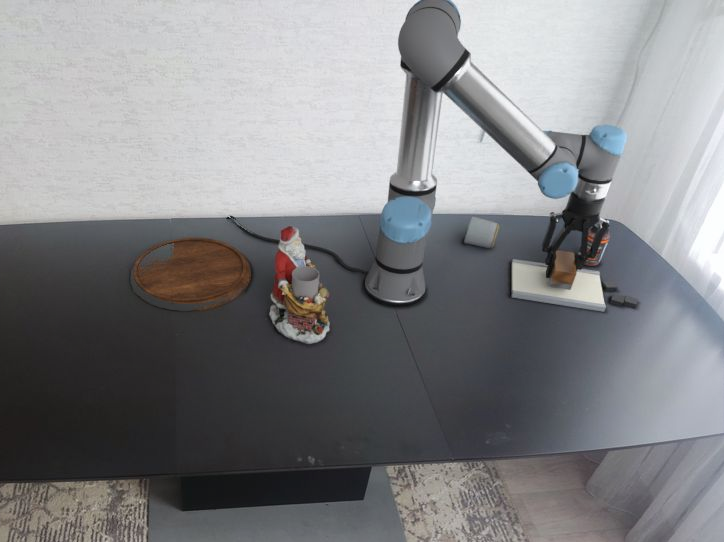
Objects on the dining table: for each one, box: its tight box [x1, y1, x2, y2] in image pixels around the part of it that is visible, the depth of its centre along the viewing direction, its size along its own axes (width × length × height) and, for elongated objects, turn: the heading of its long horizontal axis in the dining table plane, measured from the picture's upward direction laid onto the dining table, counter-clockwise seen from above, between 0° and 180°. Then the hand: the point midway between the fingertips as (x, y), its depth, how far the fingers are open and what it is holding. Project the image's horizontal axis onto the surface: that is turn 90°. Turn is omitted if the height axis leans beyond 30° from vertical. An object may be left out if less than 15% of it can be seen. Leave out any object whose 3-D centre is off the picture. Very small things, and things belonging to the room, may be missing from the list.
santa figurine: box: [268, 225, 331, 345], centre depth 151 cm, size 17×14×25 cm
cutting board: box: [133, 237, 252, 312], centre depth 174 cm, size 32×32×3 cm
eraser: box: [549, 249, 577, 290], centre depth 167 cm, size 5×10×5 cm, turn 164°
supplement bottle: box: [577, 223, 611, 267], centre depth 176 cm, size 6×6×11 cm
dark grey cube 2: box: [601, 280, 618, 292], centre depth 170 cm, size 3×3×1 cm
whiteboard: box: [510, 258, 607, 313], centre depth 170 cm, size 22×16×1 cm
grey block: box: [609, 293, 626, 308], centre depth 165 cm, size 3×3×1 cm
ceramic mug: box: [463, 215, 500, 249], centre depth 185 cm, size 11×8×8 cm
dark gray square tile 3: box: [622, 295, 639, 309], centre depth 164 cm, size 3×3×1 cm
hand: (559, 276), depth 169 cm, fingers closed on eraser, 5 cm apart
